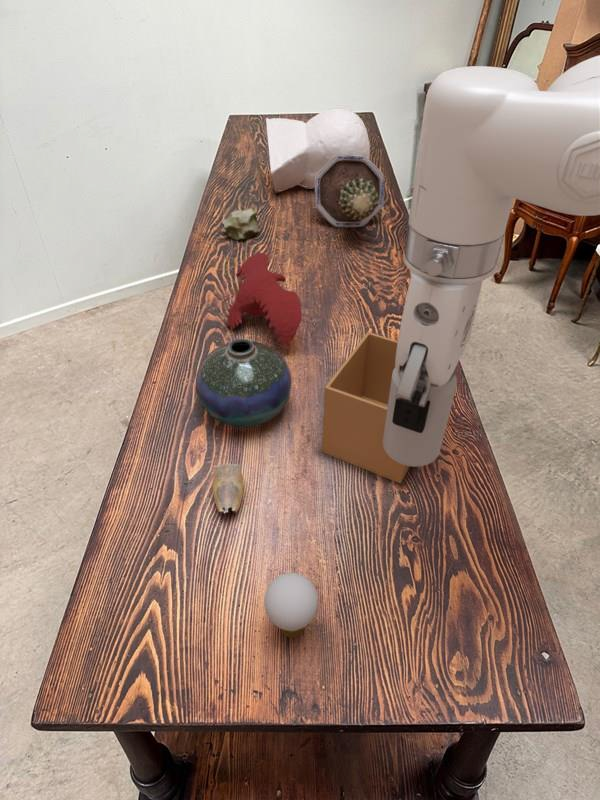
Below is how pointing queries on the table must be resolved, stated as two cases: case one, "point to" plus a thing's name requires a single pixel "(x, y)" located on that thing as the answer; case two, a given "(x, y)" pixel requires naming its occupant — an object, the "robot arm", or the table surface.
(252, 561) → the table surface
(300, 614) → the light bulb
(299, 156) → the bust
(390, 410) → the beverage can
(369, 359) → the carton
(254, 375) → the vase
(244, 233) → the greenish rock
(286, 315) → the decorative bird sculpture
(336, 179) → the potted plant
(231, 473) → the shell
